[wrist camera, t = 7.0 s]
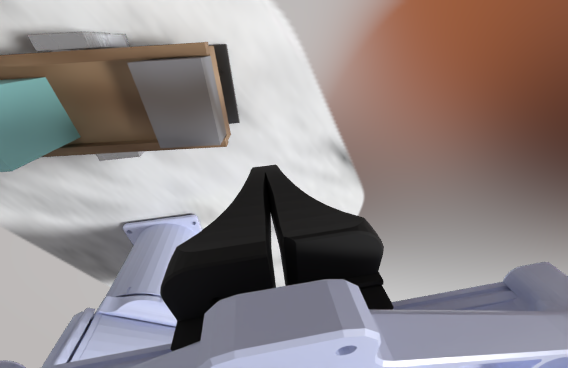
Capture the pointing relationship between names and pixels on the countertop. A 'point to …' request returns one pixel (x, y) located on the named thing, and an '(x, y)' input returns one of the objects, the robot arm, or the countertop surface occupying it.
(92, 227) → the countertop surface
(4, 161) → the block
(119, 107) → the beam
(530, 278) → the robot arm
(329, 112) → the countertop surface
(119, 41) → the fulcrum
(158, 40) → the countertop surface
